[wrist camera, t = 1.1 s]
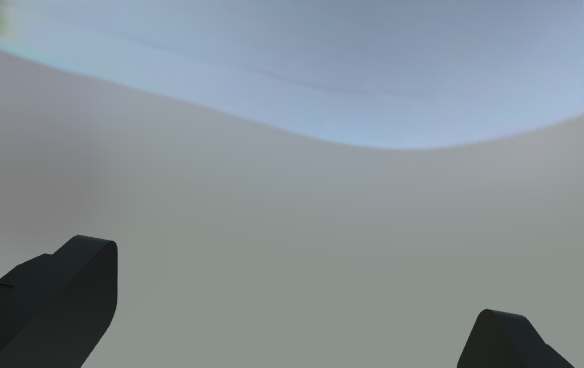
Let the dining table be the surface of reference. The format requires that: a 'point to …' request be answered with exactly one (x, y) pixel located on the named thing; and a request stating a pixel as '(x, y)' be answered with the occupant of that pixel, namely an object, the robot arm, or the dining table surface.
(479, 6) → the dining table surface
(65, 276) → the robot arm
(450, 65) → the dining table surface
